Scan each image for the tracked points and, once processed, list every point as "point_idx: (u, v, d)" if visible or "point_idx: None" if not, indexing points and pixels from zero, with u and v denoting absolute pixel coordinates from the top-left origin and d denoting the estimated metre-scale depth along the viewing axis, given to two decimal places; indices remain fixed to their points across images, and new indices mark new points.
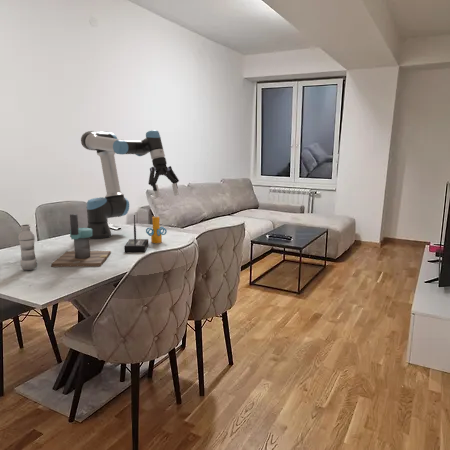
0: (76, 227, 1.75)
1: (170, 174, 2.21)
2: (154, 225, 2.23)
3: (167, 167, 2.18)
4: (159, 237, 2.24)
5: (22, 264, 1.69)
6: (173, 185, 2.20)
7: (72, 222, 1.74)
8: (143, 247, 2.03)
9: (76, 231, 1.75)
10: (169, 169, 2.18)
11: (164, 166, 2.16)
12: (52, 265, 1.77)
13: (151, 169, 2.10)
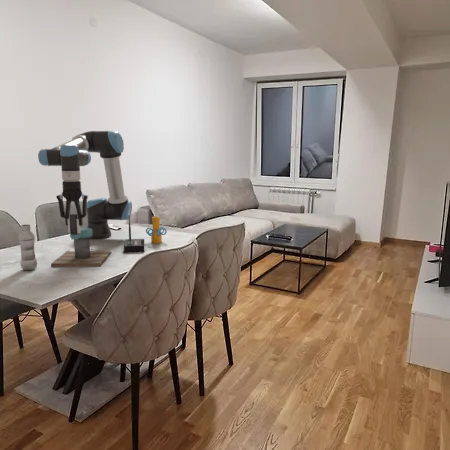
0: (76, 227, 1.75)
1: None
2: (154, 225, 2.23)
3: (82, 194, 1.73)
4: (159, 237, 2.24)
5: (22, 264, 1.69)
6: None
7: (72, 222, 1.74)
8: (143, 247, 2.04)
9: (76, 231, 1.75)
10: (82, 198, 1.73)
11: (77, 190, 1.72)
12: (52, 265, 1.77)
13: None
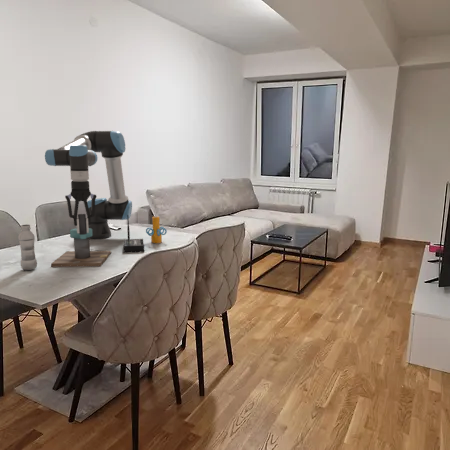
0: (85, 227, 1.76)
1: (91, 203, 1.77)
2: (154, 225, 2.23)
3: (91, 194, 1.75)
4: (159, 237, 2.24)
5: (22, 264, 1.69)
6: None
7: (81, 222, 1.75)
8: (142, 246, 2.04)
9: (85, 230, 1.76)
10: (91, 197, 1.75)
11: (86, 190, 1.74)
12: (52, 265, 1.77)
13: (66, 199, 1.71)
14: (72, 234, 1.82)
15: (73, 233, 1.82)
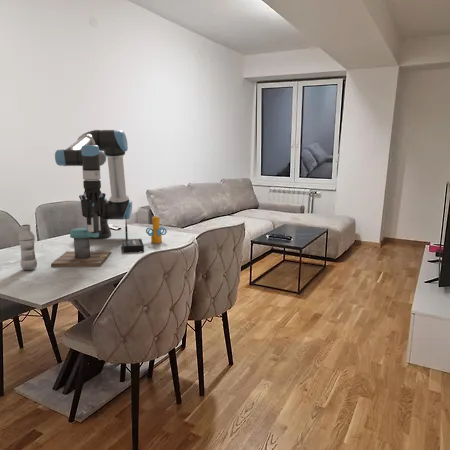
0: (97, 225, 1.80)
1: (99, 202, 1.82)
2: (154, 225, 2.23)
3: None
4: (159, 237, 2.24)
5: (22, 264, 1.69)
6: None
7: (95, 220, 1.78)
8: (142, 246, 2.05)
9: (97, 229, 1.81)
10: (101, 196, 1.81)
11: (98, 189, 1.79)
12: (52, 265, 1.77)
13: (81, 198, 1.72)
14: (77, 234, 1.81)
15: (78, 233, 1.81)
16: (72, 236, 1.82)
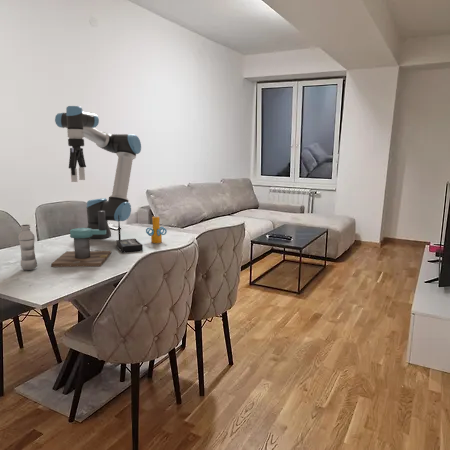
0: None
1: None
2: (154, 225, 2.23)
3: None
4: (159, 237, 2.24)
5: (22, 264, 1.69)
6: (80, 169, 2.04)
7: (104, 218, 1.85)
8: (141, 246, 2.06)
9: None
10: None
11: (79, 148, 1.98)
12: (52, 265, 1.77)
13: (72, 150, 1.90)
14: (84, 234, 1.82)
15: (86, 233, 1.83)
16: (78, 236, 1.82)
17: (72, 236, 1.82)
